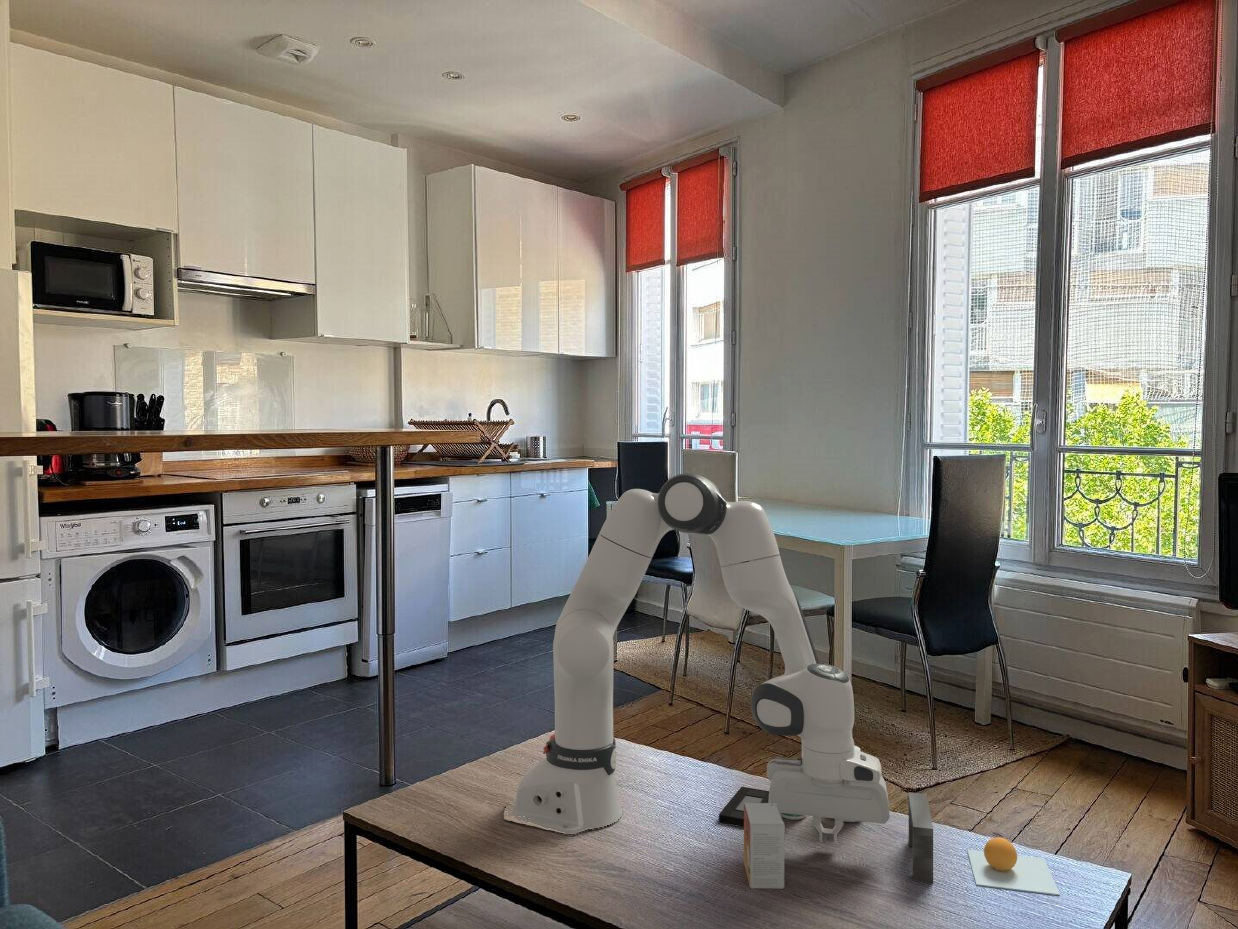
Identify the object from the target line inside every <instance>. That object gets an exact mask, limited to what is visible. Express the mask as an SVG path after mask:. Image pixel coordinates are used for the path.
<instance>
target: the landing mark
mask: <svg viewBox="0 0 1238 929" xmlns="http://www.w3.org/2000/svg"><path fill="white" fill-rule="evenodd" d="M966 851H967V855H968V859H969V862H970V866H971V870H972V874H973V878H974V881H975V885H976V886H978V887H986V888H987V887H988V888H996V889H1002V890H1011V891H1019V892H1028V893H1036V894H1044V895H1052V896H1059V897H1060V896H1061V894H1060V891H1059V888H1058V887H1057V884H1056V882H1055V880H1054V878H1053V876H1052V873H1051V871H1050V869H1049V866H1048V864H1047V861H1046V859H1045V857H1037V856H1029V855H1021V854H1019V855H1018V854H1017V862H1016V864H1015V866H1014V867H1013V868H1011V869H1010V870H1007V871H1000V870H997V869H995V868H993V867H992V866H990V865H989V863H988V862H987V861H986V858H985V856H984V850H975V849H969V848H968V849H967V850H966Z"/></svg>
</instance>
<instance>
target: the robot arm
mask: <svg viewBox="0 0 1238 929" xmlns="http://www.w3.org/2000/svg"><path fill="white" fill-rule="evenodd" d="M669 531H677V532H680V533H683V534H687V535H696V534H699V535H707V536H708V537H709V538H711V540H712V541H713V543H714V546H715V548H716V553H717V556H718V560H719V561H718V563H719V566H720V572H721V576H722V580H723V583H724V587H725V589H726V592H727V594H728V595H729V598H730V599H731V601H733V602H734V604H736V605H737V606H739V607H740V608H742V609H744V610H746V611H749V612H751V613H755V614H757V615H760V616H761V617H763V618H764V619H765V620H766V621H767V622H768V623H769V624H770V626H771V628H772V630H773V631H774V635H775V639H776V641H777V644H778V648H779V650H780V653H781V657H782V660H783V663H784V668H785V669H784V674H781V675H779V676H775V677H772V678H770V679H768V680H766V681H764V682H762V683H761V684H759V685H758V686H756V687H755V689H754V690H753V691H752V694H751V698H750V711H751V714H752V717H753V720H754V721H755V723H756V725H758V727H759V728H760V729H762V731H763V732H765V733H767V734H769V735H774V736H784V737H788V736H789V737H791V736H793V737H794V736H798V737H799V738H800V739H801V758H798V757H797V758H796V757H787V758H786V757H783V756H776V757H775V758H772V759H771V760H769V761H768V763H767V765H766V776H767V778H768V780H769V781H770V785H769V789H768V791H769V800H768V803H776V804H777V806H778V809H779V812H780V813H788V814H797V815H806V816H808V817H812V824H813V825H814V826H815V828H816V830H817V832H818V833H819V835H818V837H819V839H818V840H819V842H821V843H822V842H823V843H830V844H831V843H832V844H837V843H838V834H839V833H840V831H841V830H842V828H843V827H844V821H843V819H844V820H853V821H858V822H865V823H875V824H883V825H884V824H886V823H887V822H888V821H889V820H890V803H889V797H888V796H889V795H888V790H887V789H888V788H887V784H886V781H885V779H884V777H883V775H882V764H881V762H880V760H879V758H878V757H876V756H873V755H872V754H869V753H866V752H863V751H861V750H860V751H858V750H856V749H854V745H855V741H854V738H853V737H854V736H853V727H854V724H855V703H854V700H855V699H854V698H855V697H854V691H853V685H852V683H851V679H850V677H849V675H848V674H847V673H846V671H843V670H842V669H841V668H839V667H836V666H835V665H831V664H825V663H821V662H820V660H819V657H818V654H817V652H816V649H815V645H814V642H813V639H812V637H811V633H810V630H809V626H808V624H807V621H806V618H805V615H804V612H803V609H802V607H801V604H800V601H799V600H798V597H797V595H796V593H795V591H794V590H793V588H792V586H791V585H790V582H789V580H788V577H787V575H786V571H785V569H784V565H783V562H782V558H781V555H780V550H779V546H778V542H777V539H776V536H775V533H774V530H773V527H772V525H771V522H770V520H769V517H768V515H767V513H766V510H765V509H764V508H763V506H762V505H760V504H759V503H757V502H754V501H750V500H738V501H737V500H736V501H727V500H726V499H724V496H723V493H722V492H721V490H720V489H719V487H718V486H717V485H716V484H715V483H714V482H713V481H712V480H710V479H709V478H708V477H705V476H703V475H701V474H695V473H692V472H690V473H689V472H688V473H687V472H685V473H684V472H683V473H680V474H676V475H674V476H672V477H670V478H669V479H668V480H666V482H664V484H663V485H662V486H661V488H660V490H659V492H658V493H655V492H651V491H649V490H647V489H641V488H632V489H629V490H626V491H625V492H624V493H622V494H621V496H620V497H619V498H618V500H617V501H616V503H615V504H614V506H613V508H612V509H611V511H610V512H609V513H608V515H607V517H606V519H605V521H604V522H603V525H602V526H601V528H600V531H599V533H598V535H597V537H596V540H595V542H594V545H593V546H592V548H591V551H590V554H588V557H587V559H586V562H585V563H584V565H583V569H582V571H581V572H580V574H579V576H578V578H577V580H576V583H575V585H574V586H573V588H572V591H571V593H570V594H569V596H568V598H567V600H566V603H565V605H564V607H563V609H562V611H561V613H560V615H559V617H558V619H557V621H556V624H555V630H554V635H553V636H554V637H553V642H552V652H553V653H552V654H553V658H552V659H553V687H554V688H553V690H554V691H553V693H554V732H553V734H552V735H551V736H550V737H549V740H548V741H546V743H545V746H543V749H542V750H543V752H542V754H543V755H545V757H544V759H542V760H541V761H539V762H538V763H537V764H535V765H534V766H533V767H532V768H531V769H529V770H528V771H526V773H524V775H523V776H522V777H521V779H520V780H519V782H518V785H517V787H516V793H515V796H516V798H515V801H513V802H512V801H511V802H510V803H515V806H514V807H511V808H513V811H514V812H511V813H509V814H508V815H505V816H521V817H514V818H516V819H518V820H523V821H526V822H531V823H534V824H537V825H540V826H542V827H545V828H551V829H554V830H557V831H561V832H565V833H568V834H571V833H576V832H579V831H582V830H584V829H586V828H598V829H600V828H599V827H602V828H605V827H604V826H606V827H607V825H609V826H611V825H613V824H615V823H616V822H618V821H619V820H620V819H621V818H622V817H623V813H622V812H623V808H622V806H621V801H620V797H619V792H618V787H617V781H616V780H617V779H616V772H615V771H616V767H617V745H616V739H615V737H614V655H615V654H614V650H615V649H614V648H615V647H614V646H615V645H614V635H615V632H616V630H617V627H618V626H619V624H620V622H621V620H622V619H623V616H624V615H625V613H626V611H627V610H628V607H629V606H630V604H631V603H632V601H633V599H634V598H635V596H636V594H637V593H638V590H639V588H640V585H641V583H642V581H643V579H644V577H645V576H646V575H645V574H646V573H647V570H648V568H649V565H650V563H651V561H652V559H653V557H654V554H655V553H656V550H657V548H658V545H659V544H660V541H661V539H662V538H663V537H664V536H665V535H666V534H667V533H668V532H669ZM801 765H802V766H801ZM508 808H509V807H508ZM523 816H525V817H523ZM620 817H621V818H620ZM528 818H530V819H528ZM822 818H826V819H834V824H835V825H834V827H833V828H828V827H827V828H825V827H824V825H823V824H822V823H821V822H822ZM618 819H619V820H618ZM614 822H615V823H614ZM612 823H613V824H612ZM610 824H611V825H610Z"/></svg>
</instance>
